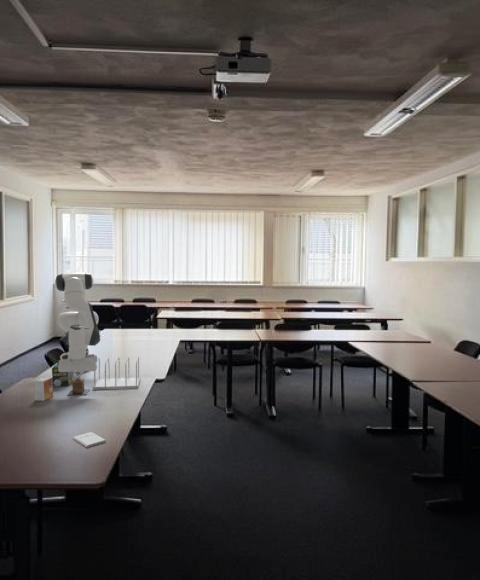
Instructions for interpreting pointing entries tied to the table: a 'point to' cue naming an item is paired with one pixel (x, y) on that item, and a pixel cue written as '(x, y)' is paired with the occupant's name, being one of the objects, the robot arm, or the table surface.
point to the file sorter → (117, 379)
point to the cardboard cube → (78, 386)
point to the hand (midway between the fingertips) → (78, 379)
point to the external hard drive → (89, 439)
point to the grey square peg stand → (78, 393)
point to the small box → (43, 389)
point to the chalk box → (60, 376)
